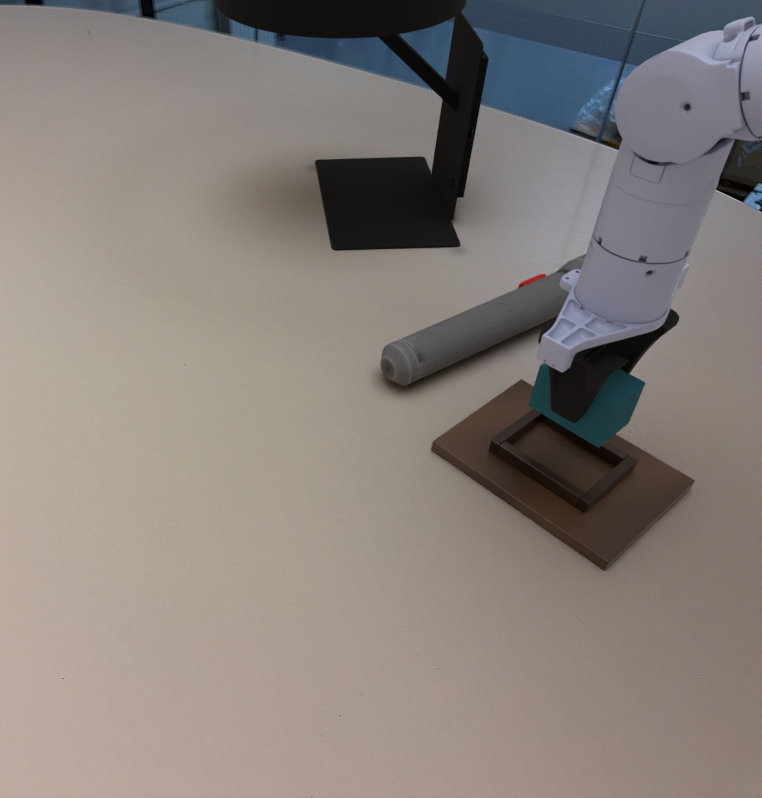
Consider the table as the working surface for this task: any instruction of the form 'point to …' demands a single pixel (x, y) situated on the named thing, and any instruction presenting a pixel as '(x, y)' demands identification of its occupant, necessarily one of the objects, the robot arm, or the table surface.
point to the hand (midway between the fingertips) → (583, 400)
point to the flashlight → (476, 328)
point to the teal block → (594, 406)
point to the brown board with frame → (563, 475)
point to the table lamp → (392, 176)
